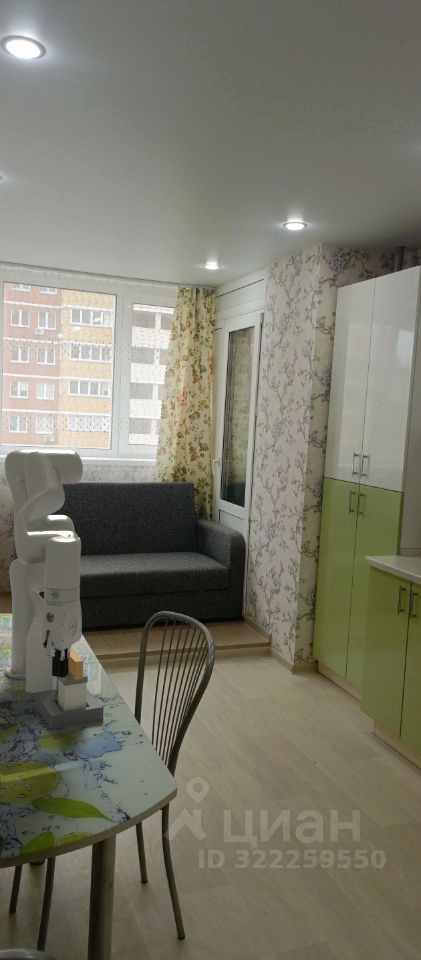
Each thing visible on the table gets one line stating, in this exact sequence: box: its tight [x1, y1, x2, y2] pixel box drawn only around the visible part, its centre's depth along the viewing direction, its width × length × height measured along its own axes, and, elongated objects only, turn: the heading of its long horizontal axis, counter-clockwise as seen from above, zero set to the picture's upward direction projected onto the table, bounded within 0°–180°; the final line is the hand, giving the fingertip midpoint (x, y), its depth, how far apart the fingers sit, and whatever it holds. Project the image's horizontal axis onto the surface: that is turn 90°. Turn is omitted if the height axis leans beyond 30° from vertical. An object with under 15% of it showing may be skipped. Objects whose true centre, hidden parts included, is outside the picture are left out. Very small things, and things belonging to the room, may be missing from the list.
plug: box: [58, 670, 89, 712], centre depth 162 cm, size 5×5×10 cm
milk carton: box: [25, 617, 57, 694], centre depth 177 cm, size 7×7×19 cm
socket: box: [34, 687, 104, 730], centre depth 165 cm, size 14×12×4 cm
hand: (60, 675), depth 155 cm, fingers closed
